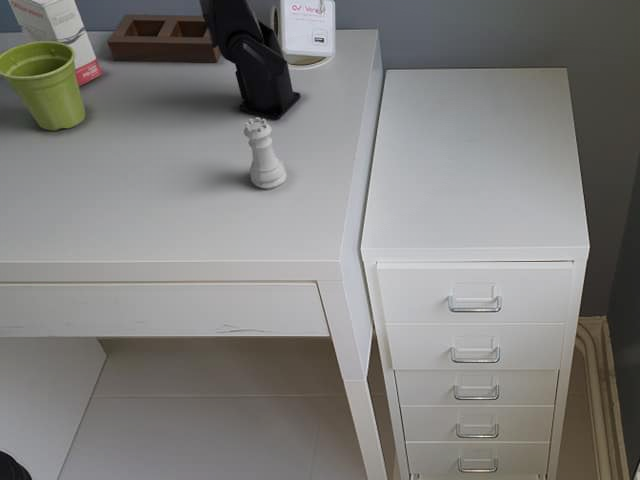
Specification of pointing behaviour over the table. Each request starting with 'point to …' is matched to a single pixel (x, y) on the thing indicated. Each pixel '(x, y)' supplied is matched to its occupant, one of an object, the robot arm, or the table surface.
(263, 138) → the rook chess piece
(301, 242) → the table surface
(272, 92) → the robot arm
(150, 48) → the wooden compartment tray
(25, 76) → the plant pot
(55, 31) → the ink box
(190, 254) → the table surface
